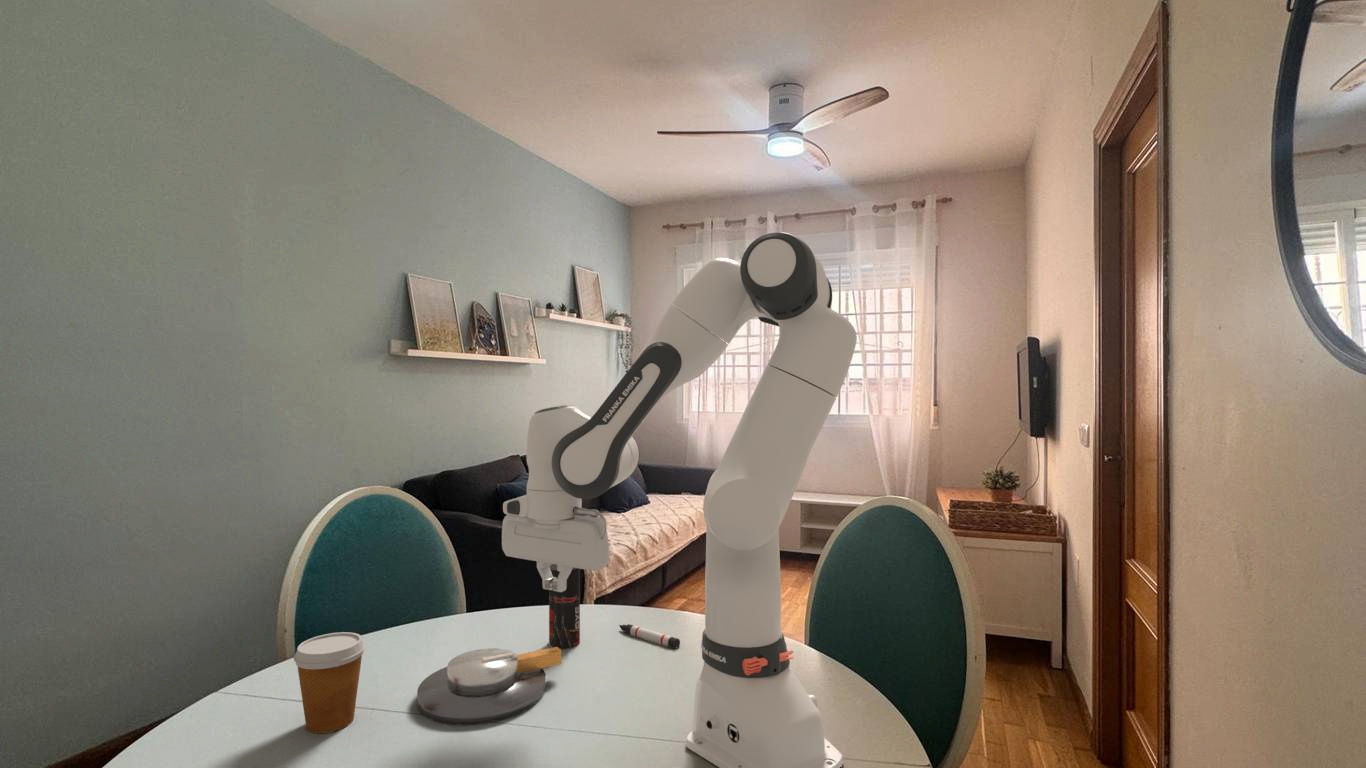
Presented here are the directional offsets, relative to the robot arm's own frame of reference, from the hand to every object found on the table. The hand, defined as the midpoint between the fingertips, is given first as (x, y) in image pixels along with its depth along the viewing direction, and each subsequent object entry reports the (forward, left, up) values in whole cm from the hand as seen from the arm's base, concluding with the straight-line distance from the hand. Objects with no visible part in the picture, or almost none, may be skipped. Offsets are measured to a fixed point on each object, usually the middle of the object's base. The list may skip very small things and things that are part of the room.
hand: (554, 589), depth 108 cm
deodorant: (+20, -9, -17) cm, 28 cm away
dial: (+6, +6, -15) cm, 17 cm away
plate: (+6, +10, -17) cm, 21 cm away
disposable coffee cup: (+8, +32, -17) cm, 37 cm away
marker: (+14, -24, -18) cm, 33 cm away
